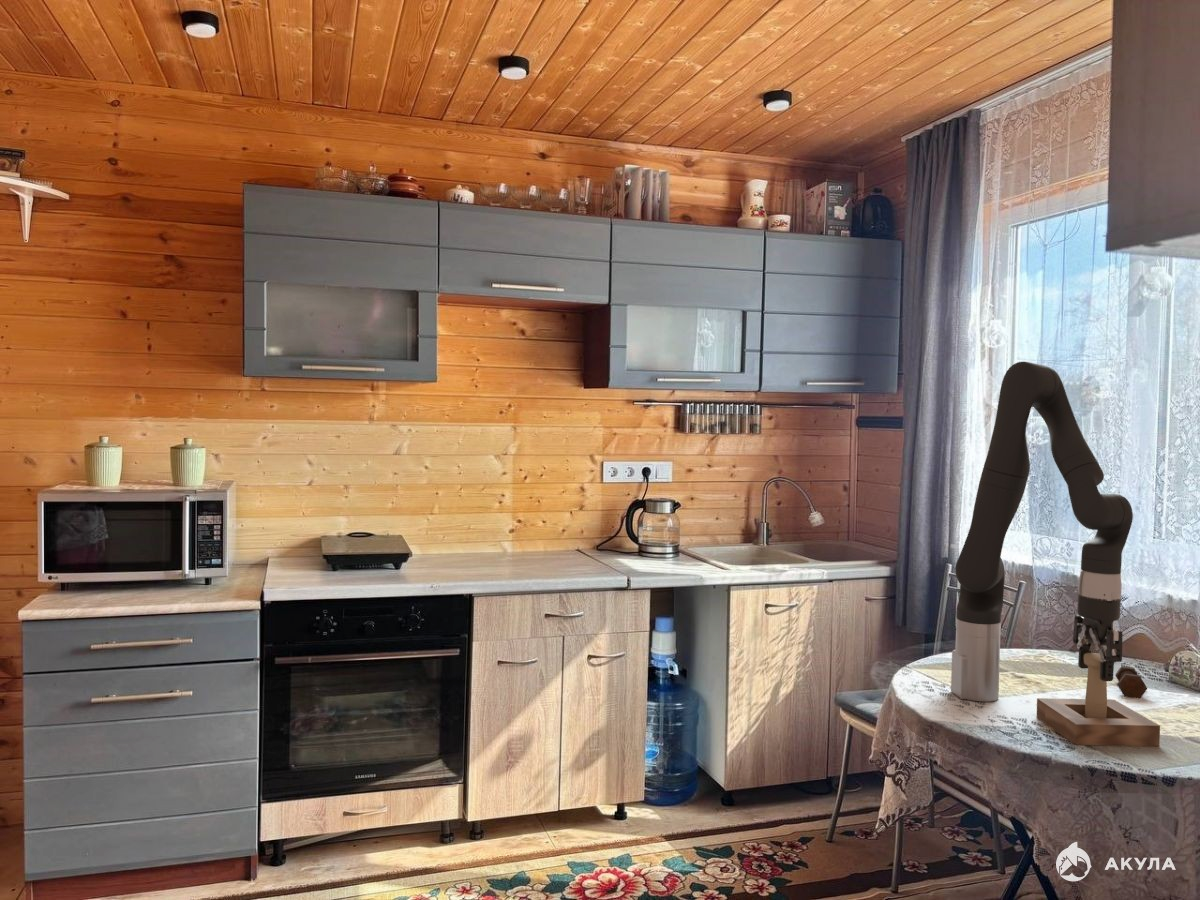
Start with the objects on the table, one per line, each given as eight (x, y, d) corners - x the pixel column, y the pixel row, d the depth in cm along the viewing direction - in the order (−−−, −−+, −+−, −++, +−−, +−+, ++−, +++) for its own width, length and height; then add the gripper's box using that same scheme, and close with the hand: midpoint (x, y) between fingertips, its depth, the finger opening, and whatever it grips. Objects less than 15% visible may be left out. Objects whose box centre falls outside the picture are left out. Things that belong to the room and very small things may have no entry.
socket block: (1075, 744, 175) (1076, 724, 175) (1036, 717, 191) (1037, 698, 191) (1159, 746, 175) (1160, 725, 175) (1113, 718, 191) (1114, 699, 191)
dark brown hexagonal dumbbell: (1128, 688, 219) (1135, 704, 205) (1107, 675, 220) (1113, 690, 207) (1143, 669, 217) (1151, 683, 204) (1122, 656, 219) (1129, 669, 205)
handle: (1082, 733, 181) (1085, 659, 180) (1080, 724, 187) (1083, 651, 186) (1110, 737, 179) (1112, 662, 178) (1107, 727, 185) (1110, 654, 184)
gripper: (1063, 586, 189) (1059, 663, 189) (1098, 600, 174) (1094, 684, 175) (1099, 587, 188) (1095, 664, 189) (1138, 602, 174) (1134, 685, 175)
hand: (1095, 674), depth 182 cm, fingers open, 8 cm apart
